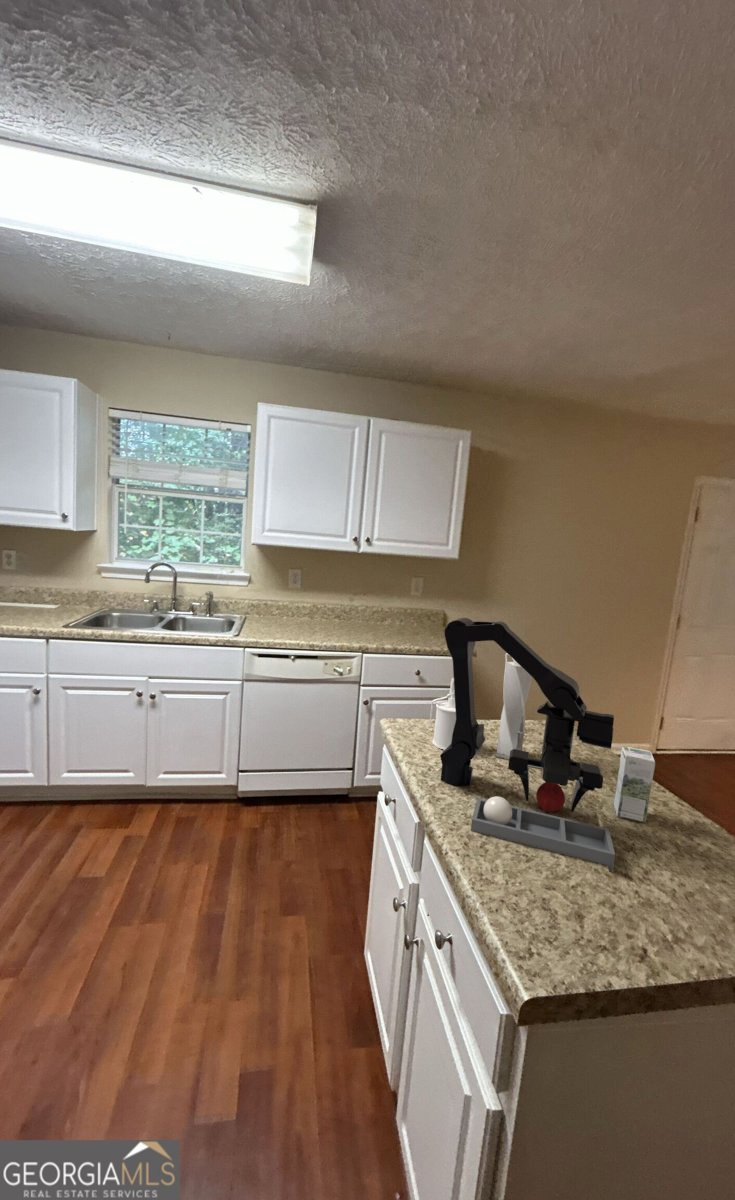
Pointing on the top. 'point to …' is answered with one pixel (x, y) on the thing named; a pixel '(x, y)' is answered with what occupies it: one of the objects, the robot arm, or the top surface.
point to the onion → (550, 797)
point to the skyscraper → (513, 709)
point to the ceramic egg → (498, 810)
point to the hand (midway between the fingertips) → (549, 805)
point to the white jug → (444, 719)
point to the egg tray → (550, 834)
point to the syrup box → (634, 784)
